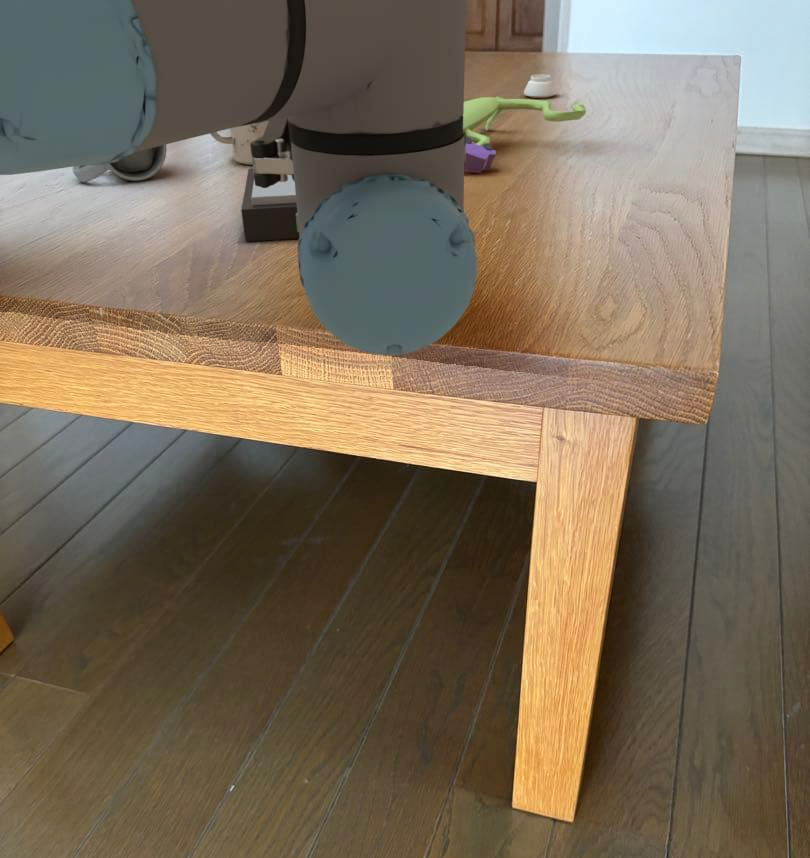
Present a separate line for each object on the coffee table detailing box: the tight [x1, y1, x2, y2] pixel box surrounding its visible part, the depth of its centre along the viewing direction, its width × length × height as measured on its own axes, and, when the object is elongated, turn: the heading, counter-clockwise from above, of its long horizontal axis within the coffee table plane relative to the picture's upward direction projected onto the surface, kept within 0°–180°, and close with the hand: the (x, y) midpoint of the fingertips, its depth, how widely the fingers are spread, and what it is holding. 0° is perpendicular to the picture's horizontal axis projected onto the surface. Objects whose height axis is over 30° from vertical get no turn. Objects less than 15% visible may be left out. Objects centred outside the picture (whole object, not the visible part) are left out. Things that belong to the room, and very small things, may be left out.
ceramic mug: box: [71, 144, 168, 183], centre depth 104 cm, size 11×8×8 cm
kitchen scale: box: [240, 168, 300, 243], centre depth 89 cm, size 16×17×4 cm
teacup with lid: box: [210, 121, 269, 166], centre depth 108 cm, size 12×9×12 cm
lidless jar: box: [523, 73, 557, 99], centre depth 141 cm, size 5×3×5 cm
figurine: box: [463, 96, 587, 174], centre depth 109 cm, size 18×27×6 cm
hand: (346, 108), depth 68 cm, fingers closed on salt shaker, 4 cm apart
